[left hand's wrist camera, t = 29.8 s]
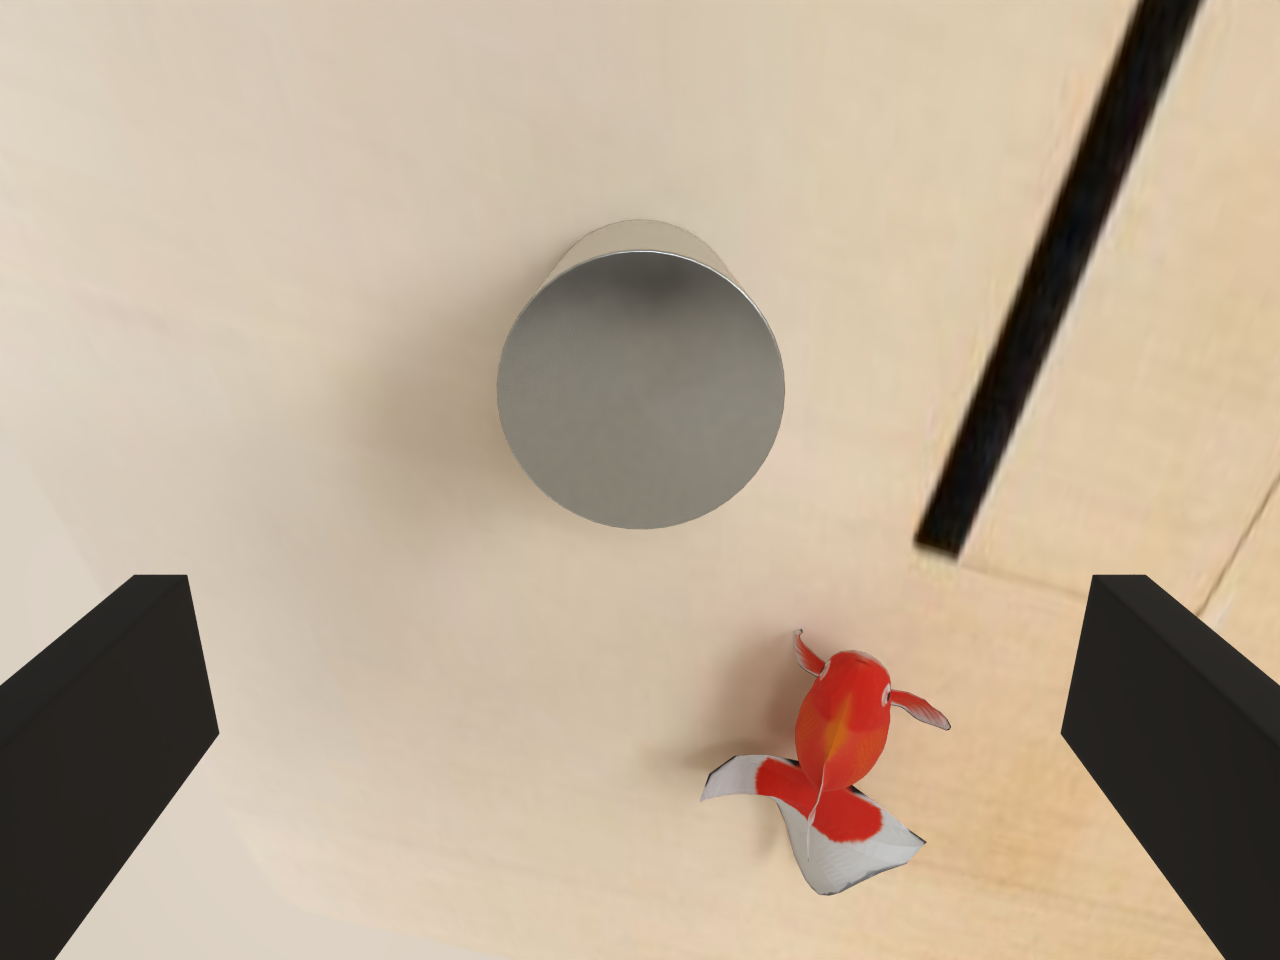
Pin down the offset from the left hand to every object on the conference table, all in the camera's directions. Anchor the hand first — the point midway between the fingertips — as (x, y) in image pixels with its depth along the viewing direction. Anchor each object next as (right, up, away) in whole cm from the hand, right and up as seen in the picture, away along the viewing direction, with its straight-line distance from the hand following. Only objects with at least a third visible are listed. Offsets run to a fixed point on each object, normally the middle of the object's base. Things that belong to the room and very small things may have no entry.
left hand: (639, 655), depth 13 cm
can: (0, +10, +26) cm, 27 cm away
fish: (+9, -10, +33) cm, 36 cm away
